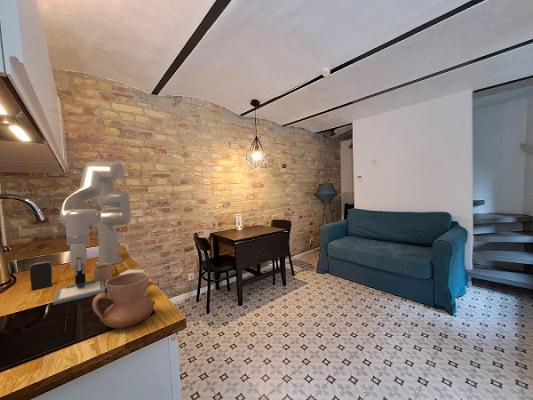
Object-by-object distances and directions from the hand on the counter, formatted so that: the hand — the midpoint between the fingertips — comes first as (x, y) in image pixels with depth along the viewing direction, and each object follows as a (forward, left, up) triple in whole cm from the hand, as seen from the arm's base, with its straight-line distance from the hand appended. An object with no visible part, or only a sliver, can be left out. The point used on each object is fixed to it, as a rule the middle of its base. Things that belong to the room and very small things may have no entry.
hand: (80, 281), depth 96 cm
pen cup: (-10, +8, -4) cm, 14 cm away
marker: (0, 0, -2) cm, 2 cm away
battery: (-16, -14, -4) cm, 22 cm away
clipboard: (+2, 0, -4) cm, 5 cm away
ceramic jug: (+39, +13, -4) cm, 41 cm away
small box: (+22, +17, -4) cm, 28 cm away
